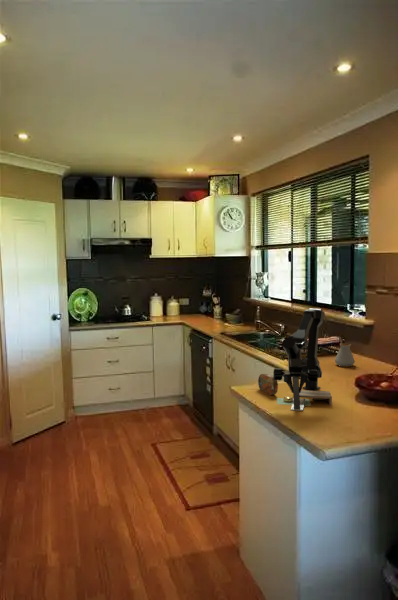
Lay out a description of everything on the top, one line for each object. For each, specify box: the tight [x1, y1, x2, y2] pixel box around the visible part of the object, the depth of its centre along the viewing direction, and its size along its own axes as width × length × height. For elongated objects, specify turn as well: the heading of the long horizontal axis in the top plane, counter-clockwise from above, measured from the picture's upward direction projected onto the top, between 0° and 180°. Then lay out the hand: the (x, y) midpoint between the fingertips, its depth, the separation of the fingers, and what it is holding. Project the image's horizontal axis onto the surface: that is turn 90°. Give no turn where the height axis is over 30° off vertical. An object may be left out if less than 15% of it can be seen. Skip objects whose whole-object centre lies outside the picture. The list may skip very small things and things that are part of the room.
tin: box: [257, 373, 279, 396], centre depth 220 cm, size 15×3×8 cm, turn 21°
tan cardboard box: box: [300, 389, 333, 406], centre depth 206 cm, size 8×15×4 cm, turn 82°
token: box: [283, 395, 293, 402], centre depth 207 cm, size 4×4×2 cm
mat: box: [276, 397, 312, 407], centre depth 206 cm, size 9×14×1 cm, turn 82°
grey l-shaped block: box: [290, 376, 307, 412], centre depth 200 cm, size 15×5×14 cm, turn 163°
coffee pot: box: [334, 336, 356, 367], centre depth 279 cm, size 21×12×15 cm, turn 176°
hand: (296, 392), depth 193 cm, fingers closed on grey l-shaped block, 3 cm apart
